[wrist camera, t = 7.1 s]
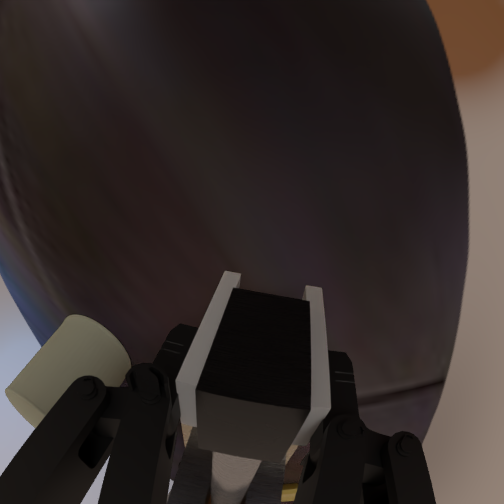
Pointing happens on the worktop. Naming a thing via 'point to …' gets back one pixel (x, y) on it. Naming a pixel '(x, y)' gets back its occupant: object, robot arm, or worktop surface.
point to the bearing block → (200, 475)
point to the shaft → (253, 388)
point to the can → (67, 366)
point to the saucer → (289, 491)
